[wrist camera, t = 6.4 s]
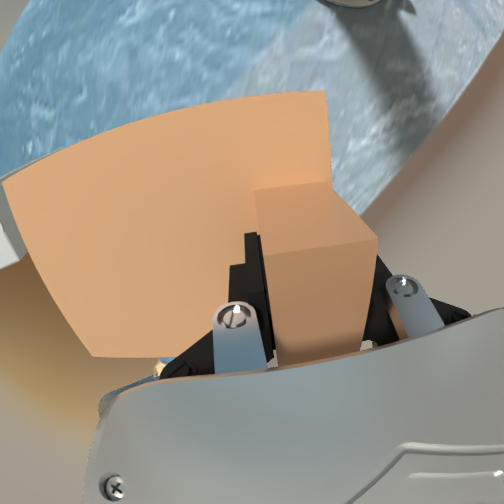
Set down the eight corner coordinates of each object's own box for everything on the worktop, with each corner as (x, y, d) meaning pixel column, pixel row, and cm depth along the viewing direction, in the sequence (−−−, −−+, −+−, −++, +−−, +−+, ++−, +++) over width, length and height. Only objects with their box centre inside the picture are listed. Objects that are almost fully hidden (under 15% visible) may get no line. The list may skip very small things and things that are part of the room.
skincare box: (36, 163, 27) (-41, 206, 14) (67, 144, 27) (-17, 181, 13) (56, 215, 31) (-10, 275, 18) (87, 201, 31) (18, 263, 17)
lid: (312, 92, 10) (389, 86, 4) (321, 316, 17) (348, 407, 11) (22, 170, 11) (-59, 223, 5) (100, 337, 18) (72, 412, 12)
